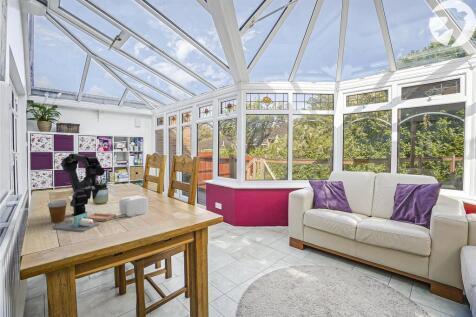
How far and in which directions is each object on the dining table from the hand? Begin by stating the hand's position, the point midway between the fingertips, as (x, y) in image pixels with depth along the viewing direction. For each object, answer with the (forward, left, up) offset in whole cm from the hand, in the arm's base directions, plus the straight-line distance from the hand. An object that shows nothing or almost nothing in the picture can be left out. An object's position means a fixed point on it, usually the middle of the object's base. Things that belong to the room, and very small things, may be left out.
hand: (91, 199), depth 150 cm
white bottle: (+11, -17, -11) cm, 23 cm away
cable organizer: (+22, +12, -12) cm, 28 cm away
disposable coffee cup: (-14, -11, -12) cm, 22 cm away
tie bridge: (+9, -17, -11) cm, 22 cm away
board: (+6, -17, -12) cm, 22 cm away
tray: (+7, -1, -12) cm, 14 cm away
